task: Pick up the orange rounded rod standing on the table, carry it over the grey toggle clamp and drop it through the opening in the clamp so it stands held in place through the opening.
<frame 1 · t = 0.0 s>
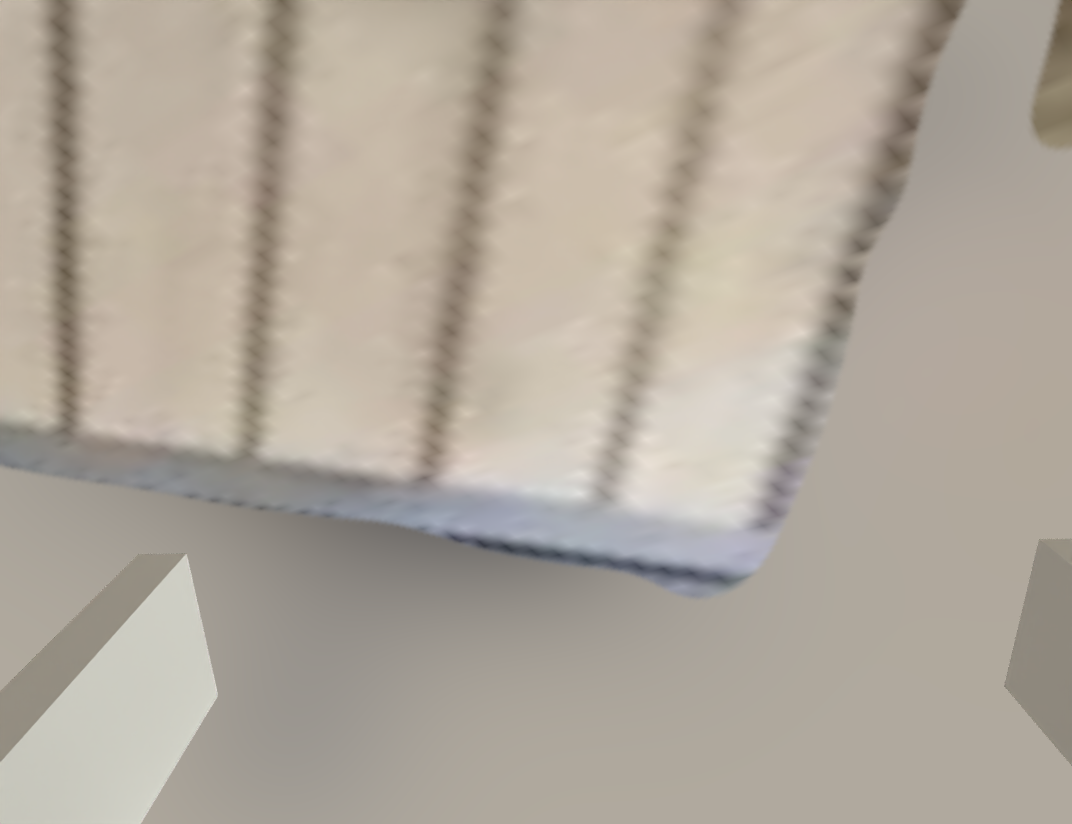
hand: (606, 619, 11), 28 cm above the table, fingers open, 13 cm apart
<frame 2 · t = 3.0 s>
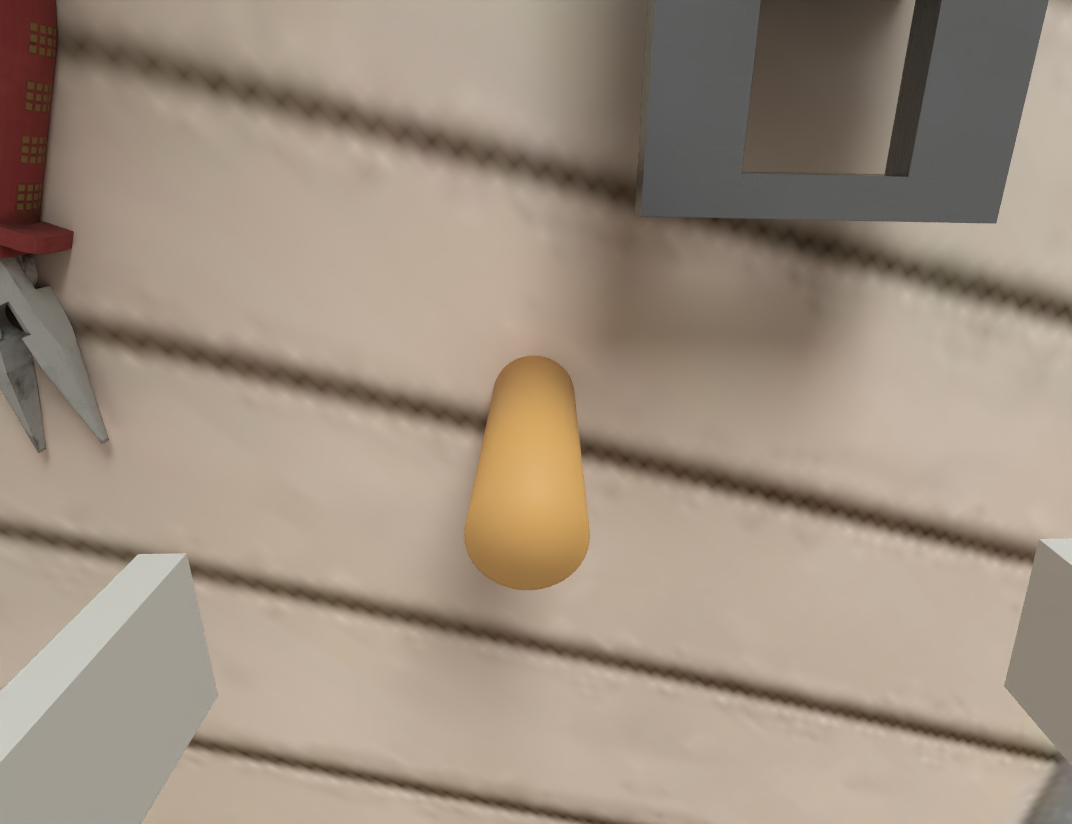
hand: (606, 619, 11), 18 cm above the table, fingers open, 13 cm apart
orange rounded rod: (533, 394, 29), on the table
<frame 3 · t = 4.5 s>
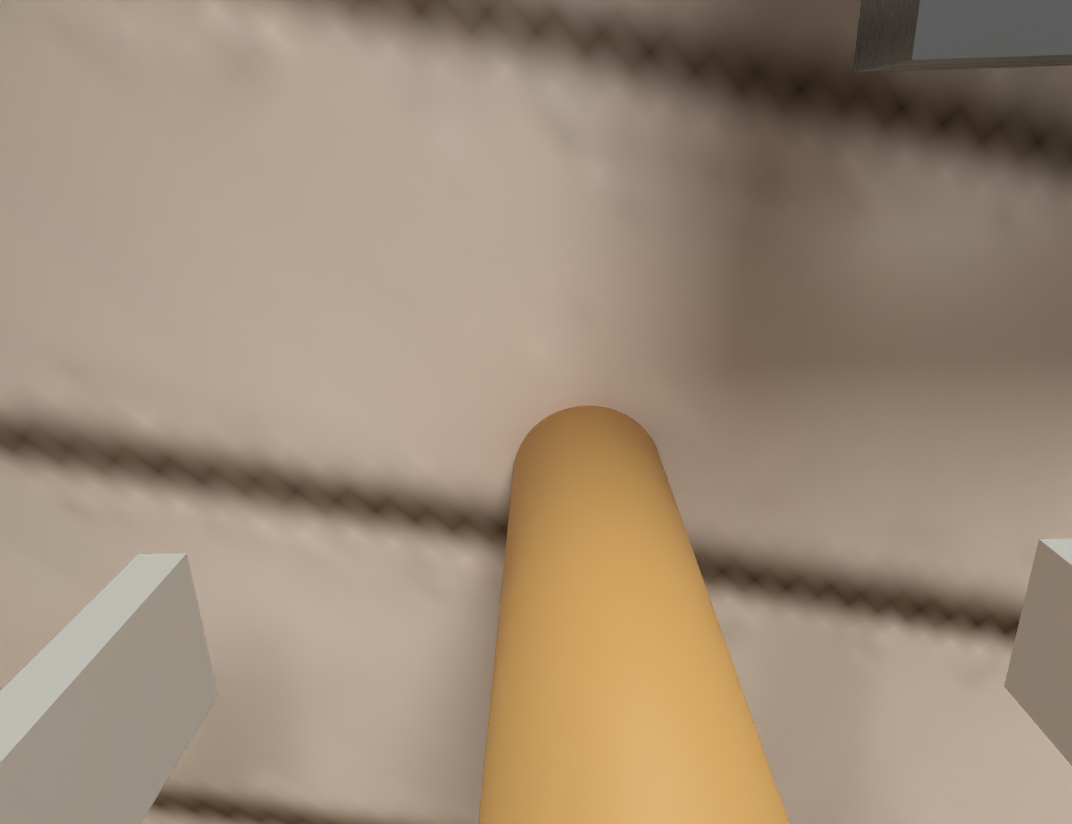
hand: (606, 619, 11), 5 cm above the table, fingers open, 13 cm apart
orange rounded rod: (587, 475, 16), on the table
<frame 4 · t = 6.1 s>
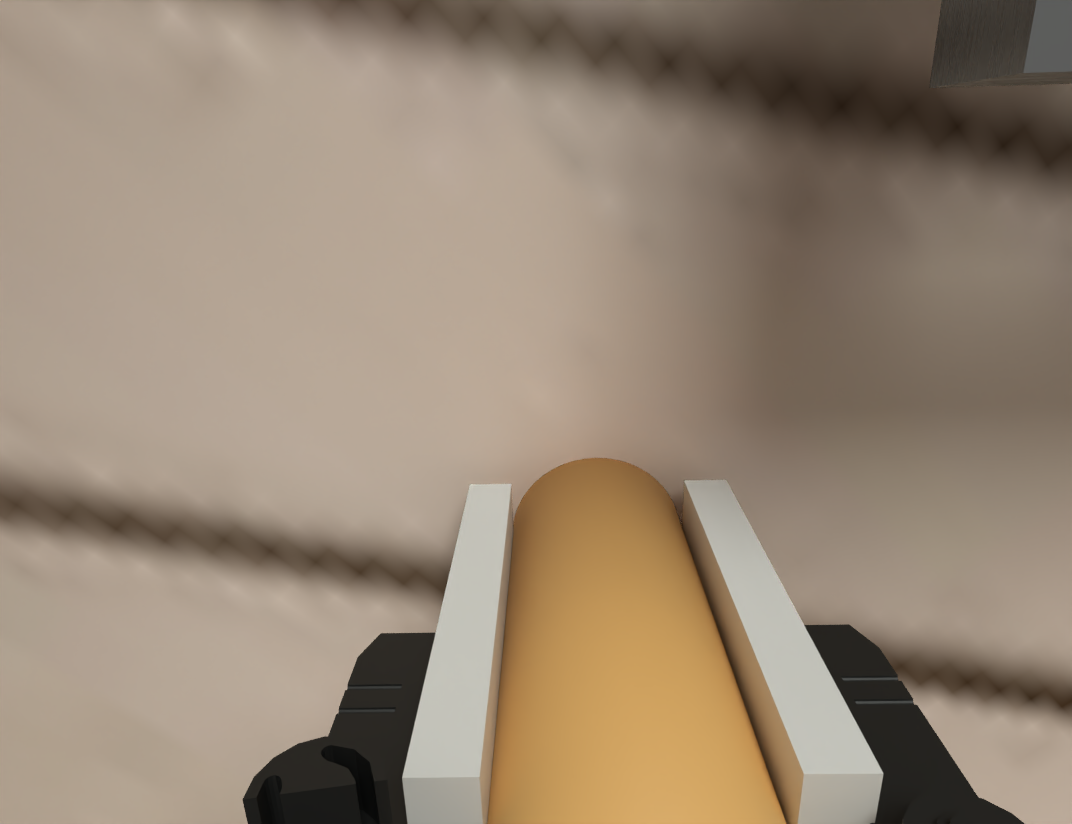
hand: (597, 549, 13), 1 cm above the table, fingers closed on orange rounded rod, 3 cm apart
orange rounded rod: (595, 534, 14), on the table, touching gripper
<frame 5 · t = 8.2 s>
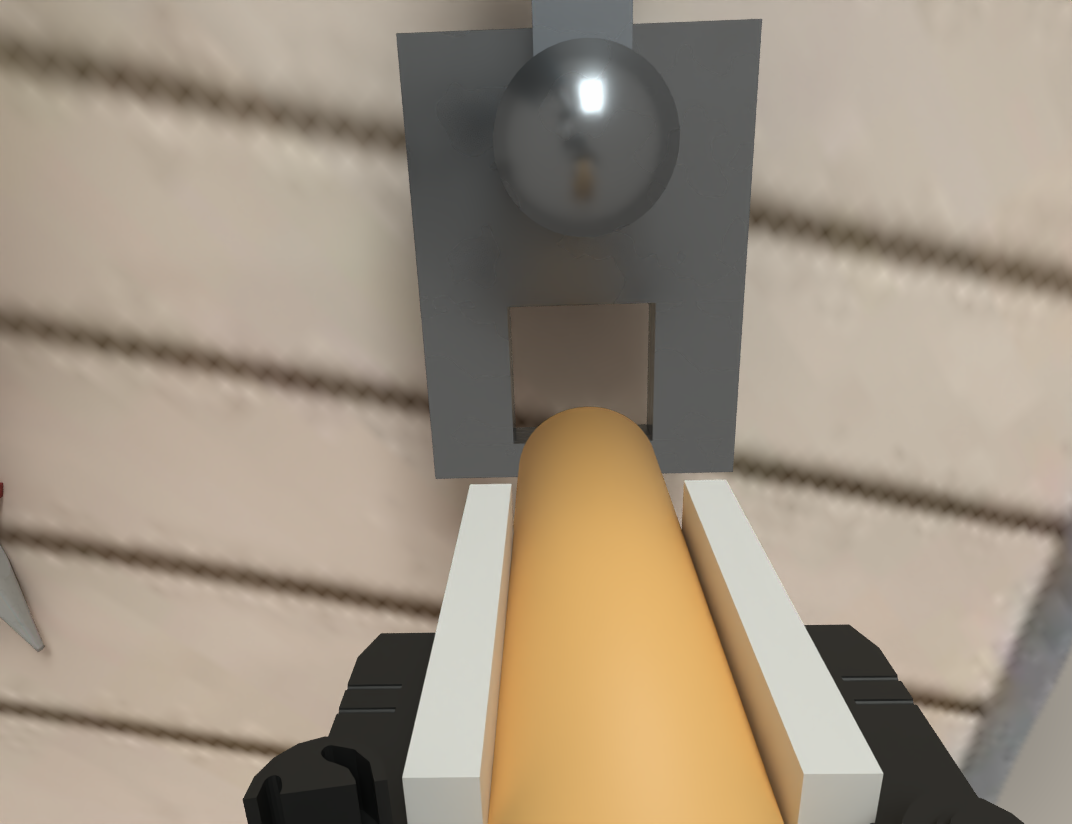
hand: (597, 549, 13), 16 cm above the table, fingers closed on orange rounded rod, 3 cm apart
grey toggle clamp: (572, 144, 26), on the table
orange rounded rod: (587, 471, 17), point 13 cm above the table, touching gripper
when the fingers open (7 cm above the table, at t = 10.5 s): orange rounded rod drops 4 cm, on the table.
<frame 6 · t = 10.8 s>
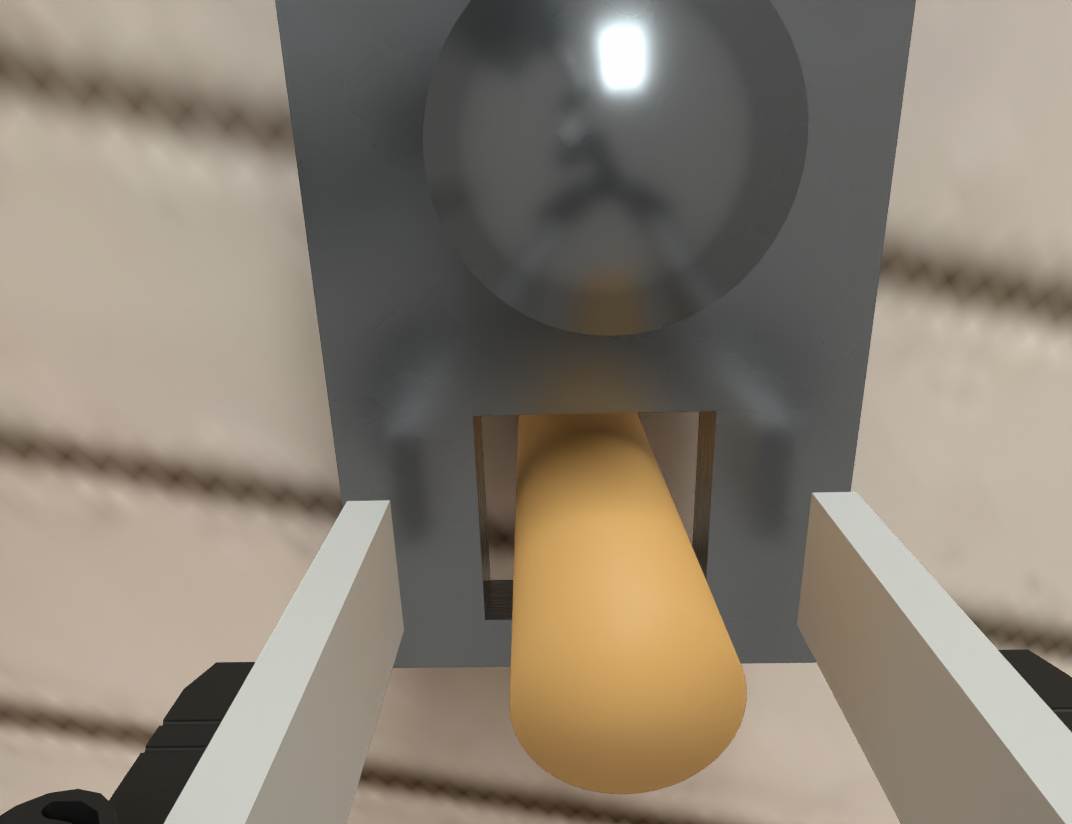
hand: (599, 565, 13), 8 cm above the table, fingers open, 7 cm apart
grey toggle clamp: (579, 148, 18), on the table
orange rounded rod: (576, 418, 20), on the table
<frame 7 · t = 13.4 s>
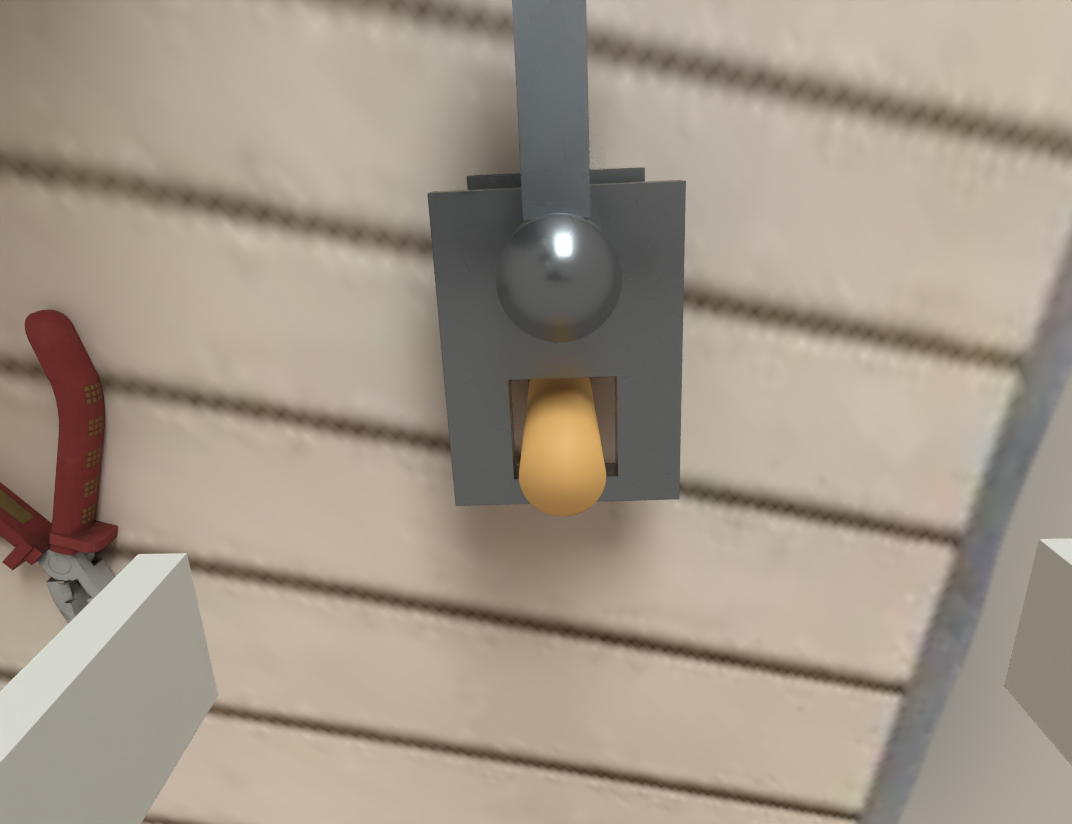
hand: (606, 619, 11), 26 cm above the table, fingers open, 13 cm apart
grey toggle clamp: (558, 248, 35), on the table
pliers: (29, 484, 40), on the table
orange rounded rod: (560, 388, 37), on the table
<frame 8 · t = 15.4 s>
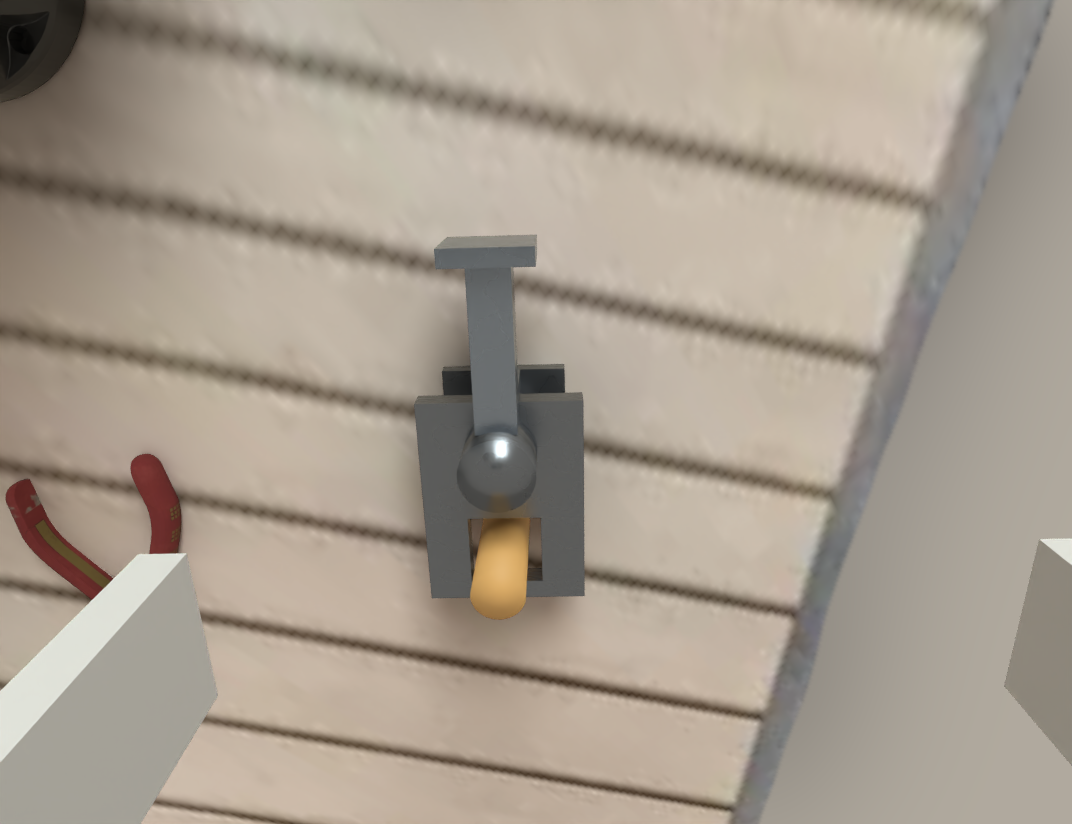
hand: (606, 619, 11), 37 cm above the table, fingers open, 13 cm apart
grey toggle clamp: (506, 414, 49), on the table
pliers: (121, 568, 55), on the table
orange rounded rod: (508, 506, 52), on the table
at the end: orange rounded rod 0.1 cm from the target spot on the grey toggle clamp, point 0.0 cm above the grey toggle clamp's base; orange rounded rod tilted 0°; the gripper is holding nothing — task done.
